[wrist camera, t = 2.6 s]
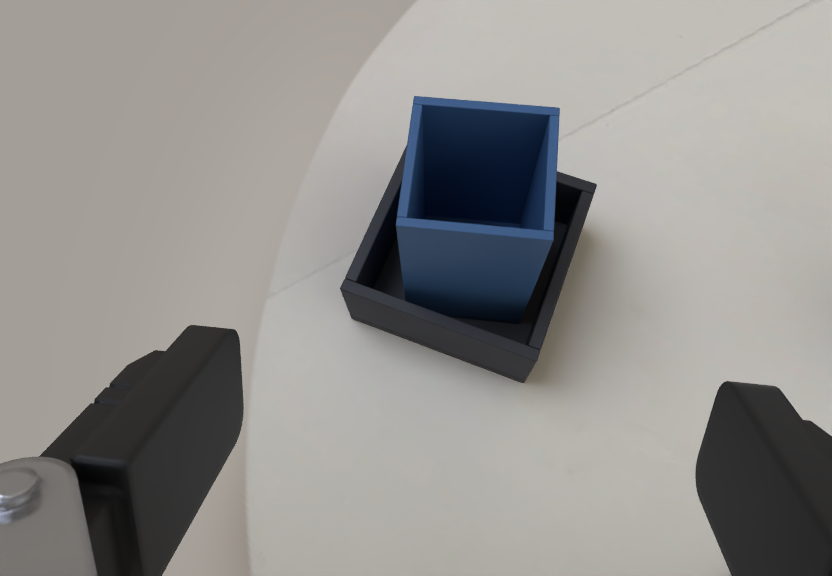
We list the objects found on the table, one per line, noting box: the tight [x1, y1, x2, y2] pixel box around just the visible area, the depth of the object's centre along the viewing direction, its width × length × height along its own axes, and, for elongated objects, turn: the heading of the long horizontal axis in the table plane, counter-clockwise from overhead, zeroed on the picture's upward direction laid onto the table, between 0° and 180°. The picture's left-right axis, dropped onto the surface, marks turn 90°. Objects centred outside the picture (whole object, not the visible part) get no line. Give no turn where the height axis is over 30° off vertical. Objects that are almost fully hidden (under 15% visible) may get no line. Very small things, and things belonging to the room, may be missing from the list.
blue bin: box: [396, 96, 560, 324], centre depth 31 cm, size 6×6×10 cm
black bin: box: [340, 146, 597, 383], centre depth 34 cm, size 10×10×5 cm
